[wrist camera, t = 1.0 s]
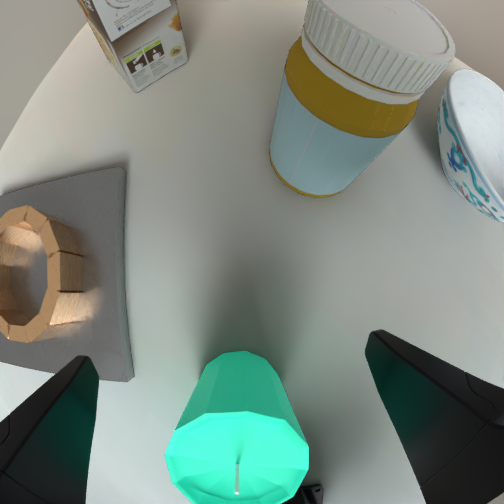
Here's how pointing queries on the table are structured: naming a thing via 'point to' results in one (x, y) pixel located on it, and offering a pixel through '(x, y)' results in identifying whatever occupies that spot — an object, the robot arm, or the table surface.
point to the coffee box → (138, 37)
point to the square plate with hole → (65, 275)
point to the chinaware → (473, 140)
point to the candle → (238, 436)
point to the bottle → (352, 88)
